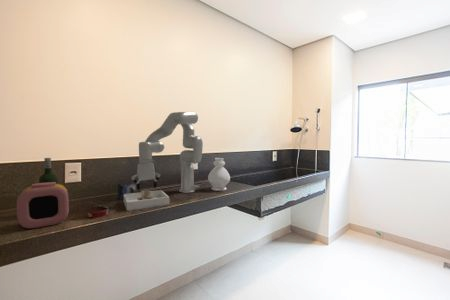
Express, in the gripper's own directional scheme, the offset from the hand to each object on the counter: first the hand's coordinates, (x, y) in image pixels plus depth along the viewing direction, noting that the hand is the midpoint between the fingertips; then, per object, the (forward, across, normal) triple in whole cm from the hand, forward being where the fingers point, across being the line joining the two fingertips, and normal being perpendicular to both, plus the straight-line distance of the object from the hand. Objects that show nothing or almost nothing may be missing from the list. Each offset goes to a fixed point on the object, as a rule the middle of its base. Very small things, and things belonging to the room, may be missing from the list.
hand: (146, 188), depth 140 cm
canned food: (+9, +27, +10) cm, 30 cm away
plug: (+8, +1, 0) cm, 8 cm away
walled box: (+9, +1, 0) cm, 9 cm away
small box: (+10, +10, -18) cm, 23 cm away
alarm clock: (+8, +49, +12) cm, 51 cm away
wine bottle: (+8, +50, -6) cm, 51 cm away
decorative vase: (+11, -58, -14) cm, 61 cm away
